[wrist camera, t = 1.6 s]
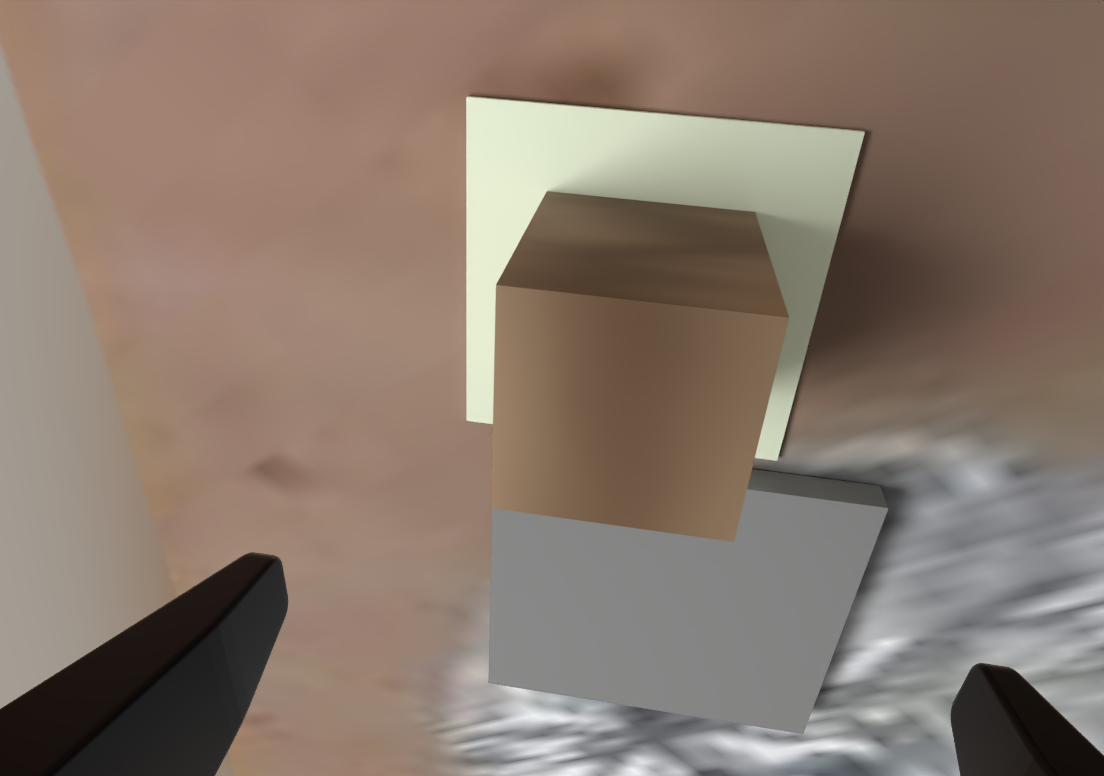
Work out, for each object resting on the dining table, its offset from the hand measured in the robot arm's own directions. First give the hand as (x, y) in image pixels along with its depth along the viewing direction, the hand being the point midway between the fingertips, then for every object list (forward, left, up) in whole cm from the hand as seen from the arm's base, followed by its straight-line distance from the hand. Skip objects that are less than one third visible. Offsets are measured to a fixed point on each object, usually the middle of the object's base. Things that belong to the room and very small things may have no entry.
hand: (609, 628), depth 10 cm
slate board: (-2, +10, -11) cm, 15 cm away
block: (0, 0, -11) cm, 11 cm away
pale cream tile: (0, 0, -11) cm, 11 cm away
